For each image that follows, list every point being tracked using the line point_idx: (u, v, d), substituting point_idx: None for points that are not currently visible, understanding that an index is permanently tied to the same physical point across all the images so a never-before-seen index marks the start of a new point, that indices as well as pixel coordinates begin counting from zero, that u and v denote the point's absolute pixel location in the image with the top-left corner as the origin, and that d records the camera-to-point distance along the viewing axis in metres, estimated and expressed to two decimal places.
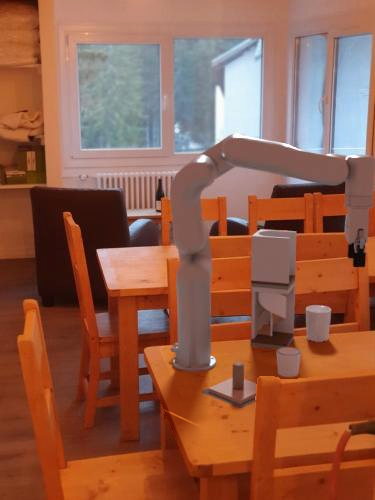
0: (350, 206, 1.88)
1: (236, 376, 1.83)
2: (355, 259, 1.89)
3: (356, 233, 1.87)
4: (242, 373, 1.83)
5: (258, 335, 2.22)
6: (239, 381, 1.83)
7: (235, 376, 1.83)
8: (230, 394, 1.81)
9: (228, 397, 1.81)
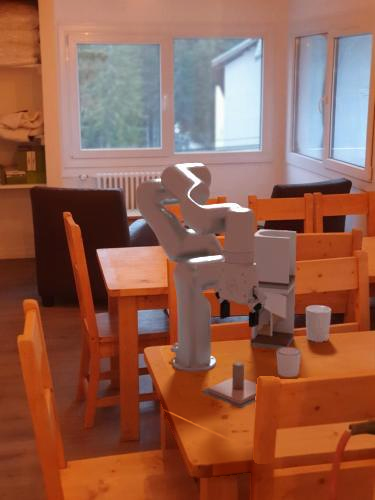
0: (240, 264, 1.74)
1: (236, 376, 1.83)
2: (252, 319, 1.76)
3: (251, 292, 1.75)
4: (242, 373, 1.83)
5: (258, 335, 2.22)
6: (239, 381, 1.83)
7: (235, 376, 1.83)
8: (230, 394, 1.81)
9: (228, 397, 1.81)
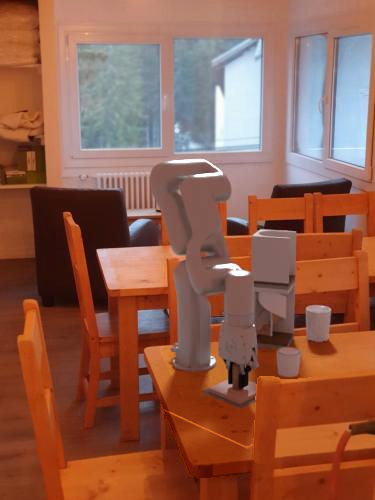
0: (239, 327, 1.78)
1: (236, 376, 1.83)
2: (241, 380, 1.82)
3: (250, 353, 1.78)
4: None
5: (258, 335, 2.22)
6: None
7: (235, 376, 1.83)
8: (230, 394, 1.81)
9: (228, 397, 1.81)
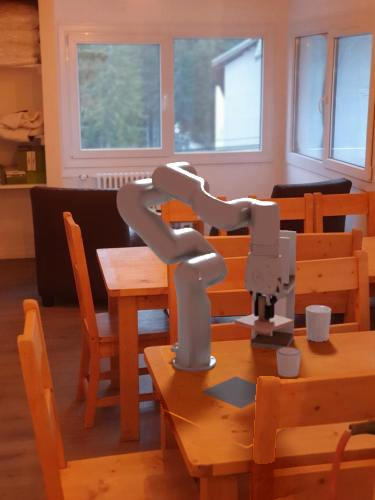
0: (265, 256, 1.79)
1: (262, 308, 1.85)
2: (267, 312, 1.84)
3: (276, 283, 1.80)
4: None
5: (258, 335, 2.22)
6: (264, 313, 1.85)
7: (261, 307, 1.85)
8: (256, 325, 1.83)
9: (254, 327, 1.82)
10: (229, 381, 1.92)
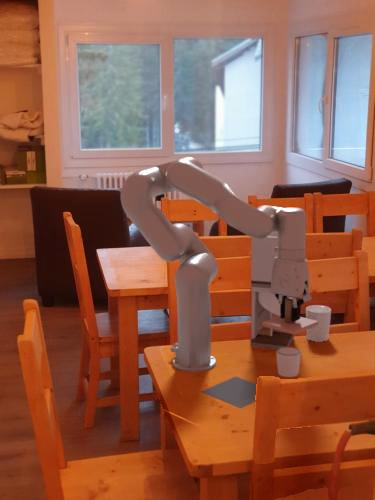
0: (293, 260, 1.86)
1: (288, 310, 1.92)
2: (294, 314, 1.91)
3: (303, 286, 1.87)
4: None
5: (258, 335, 2.22)
6: None
7: (287, 309, 1.92)
8: (283, 327, 1.89)
9: (282, 329, 1.89)
10: (229, 381, 1.92)
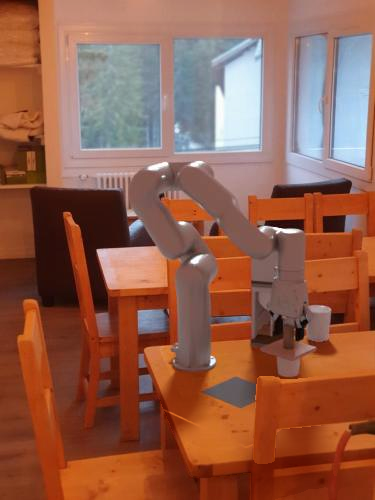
0: (292, 282, 1.87)
1: (287, 336, 1.93)
2: (298, 334, 1.91)
3: (302, 307, 1.88)
4: (293, 333, 1.93)
5: (258, 335, 2.22)
6: (289, 341, 1.93)
7: (286, 336, 1.93)
8: (282, 353, 1.91)
9: (280, 355, 1.91)
10: (229, 381, 1.92)
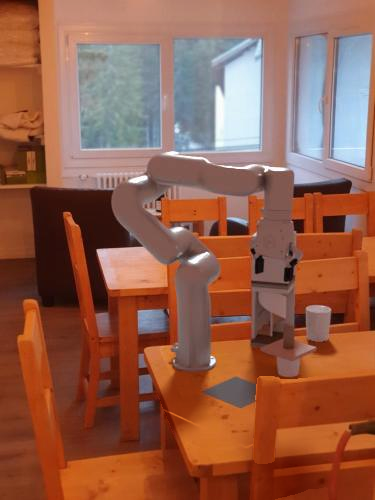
0: (279, 221, 1.83)
1: (287, 336, 1.93)
2: (287, 274, 1.85)
3: (288, 248, 1.84)
4: (293, 333, 1.93)
5: (258, 335, 2.22)
6: (290, 341, 1.93)
7: (286, 336, 1.93)
8: (282, 353, 1.91)
9: (280, 355, 1.91)
10: (229, 381, 1.92)
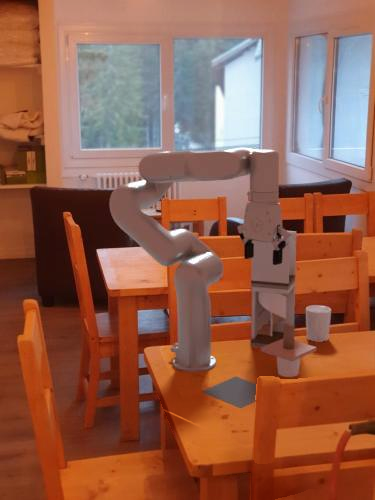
0: (265, 203, 1.80)
1: (287, 336, 1.93)
2: (276, 257, 1.83)
3: (276, 230, 1.81)
4: (293, 333, 1.93)
5: (258, 335, 2.22)
6: (290, 341, 1.93)
7: (286, 336, 1.93)
8: (282, 353, 1.91)
9: (280, 355, 1.91)
10: (229, 381, 1.92)
